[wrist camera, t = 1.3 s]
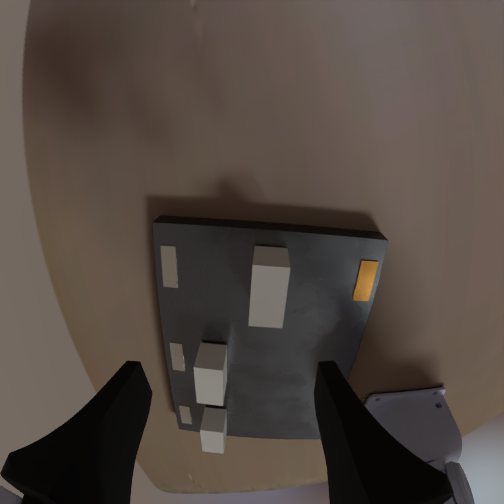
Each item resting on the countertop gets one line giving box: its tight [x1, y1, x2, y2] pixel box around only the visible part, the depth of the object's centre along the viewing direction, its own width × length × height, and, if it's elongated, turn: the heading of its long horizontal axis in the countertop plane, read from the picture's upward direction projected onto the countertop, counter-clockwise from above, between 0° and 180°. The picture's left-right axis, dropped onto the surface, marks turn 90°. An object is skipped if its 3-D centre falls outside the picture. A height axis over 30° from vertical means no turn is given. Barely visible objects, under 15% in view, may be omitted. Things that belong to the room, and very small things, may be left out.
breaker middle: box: [194, 343, 227, 406], centre depth 22 cm, size 2×4×3 cm, turn 177°
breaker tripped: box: [248, 246, 290, 328], centre depth 18 cm, size 2×4×3 cm, turn 177°
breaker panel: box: [153, 216, 388, 439], centre depth 24 cm, size 15×22×2 cm
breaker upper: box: [200, 407, 227, 454], centre depth 25 cm, size 2×4×3 cm, turn 176°
